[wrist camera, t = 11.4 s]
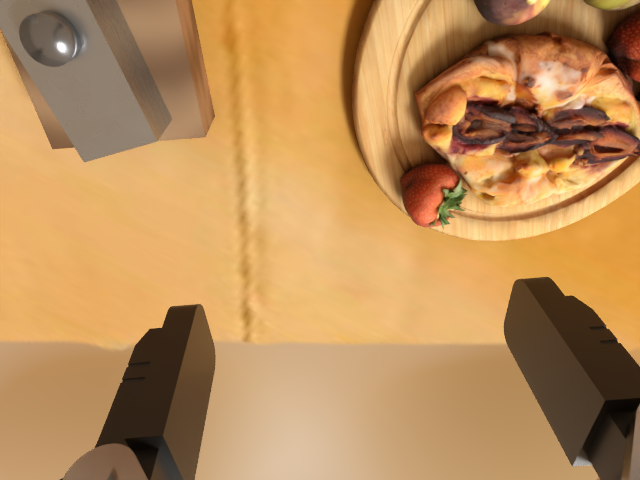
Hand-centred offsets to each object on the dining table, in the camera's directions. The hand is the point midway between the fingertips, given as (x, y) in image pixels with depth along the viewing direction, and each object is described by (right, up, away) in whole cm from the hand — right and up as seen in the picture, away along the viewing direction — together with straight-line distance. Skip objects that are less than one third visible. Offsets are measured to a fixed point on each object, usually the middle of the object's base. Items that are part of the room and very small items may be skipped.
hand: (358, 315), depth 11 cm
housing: (-16, +15, +20) cm, 29 cm away
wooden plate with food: (+18, +16, +27) cm, 36 cm away
